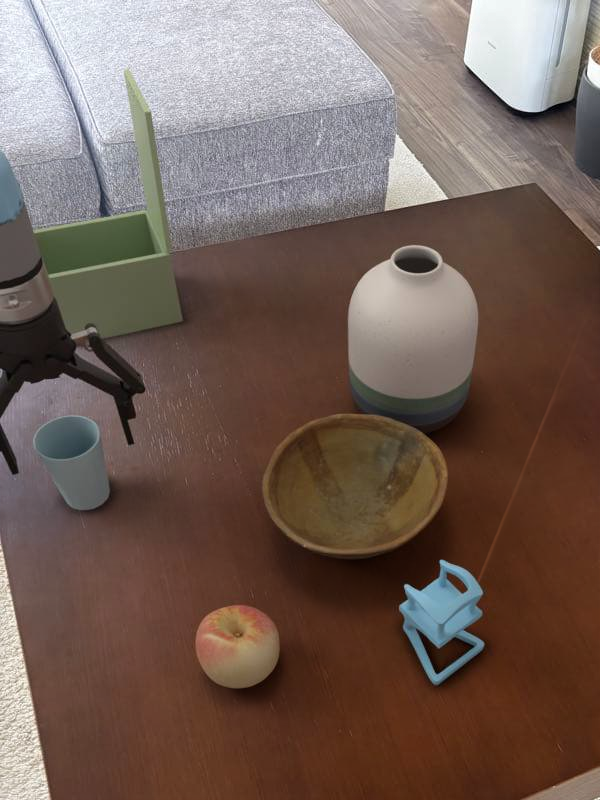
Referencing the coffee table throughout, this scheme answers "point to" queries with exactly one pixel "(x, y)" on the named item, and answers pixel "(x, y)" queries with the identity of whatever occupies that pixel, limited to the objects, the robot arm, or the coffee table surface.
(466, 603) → the chair
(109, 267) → the chest
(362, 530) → the bowl
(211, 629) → the apple
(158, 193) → the lid
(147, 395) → the coffee table surface
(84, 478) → the cup
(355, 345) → the vase
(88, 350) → the robot arm
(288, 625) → the coffee table surface
